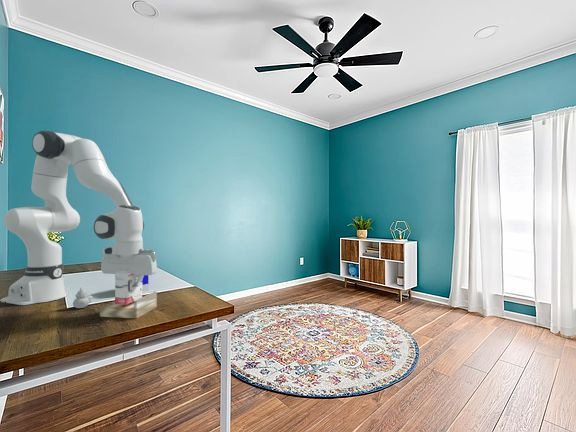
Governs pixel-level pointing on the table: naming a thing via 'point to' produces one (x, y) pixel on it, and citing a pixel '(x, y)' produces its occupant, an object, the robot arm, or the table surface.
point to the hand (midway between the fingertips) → (129, 286)
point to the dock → (130, 307)
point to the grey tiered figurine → (82, 299)
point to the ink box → (126, 287)
